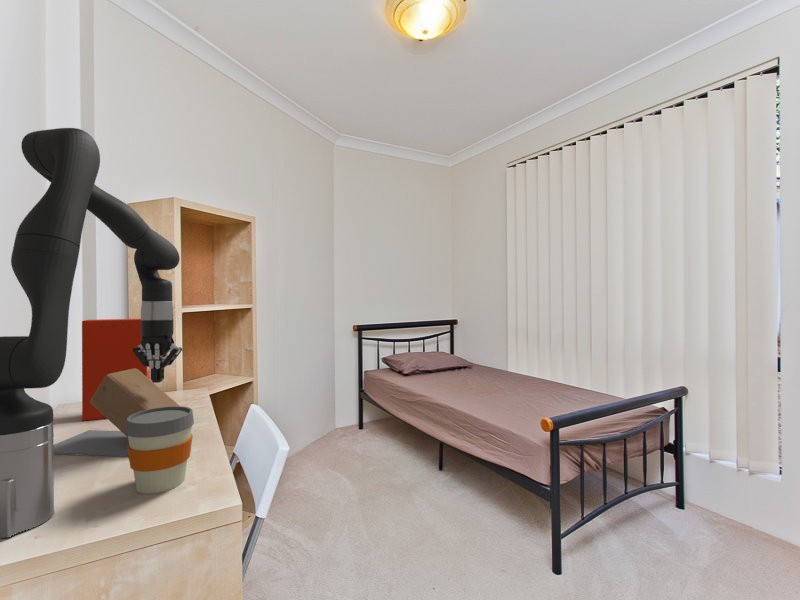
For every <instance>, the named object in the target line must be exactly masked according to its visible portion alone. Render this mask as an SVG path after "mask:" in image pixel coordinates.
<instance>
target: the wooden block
mask: <svg viewBox="0 0 800 600" xmlns="http://www.w3.org/2000/svg"><path fill="white" fill-rule="evenodd" d="M90 403H91V404H92V405H93V406H94V407H95V408H96V409H97V410H98V411H99V412H101V413H102V414H103V415H104V416H105V417H106V418H105V419H106V420H108V421H109V422H110V423H111V424H112V425H114V426H115V427H116V428H117V429H118V431H121V432H122V433H124V434H125V435H126V424H127V418H128V417H129V416H131V415H132V414H135V413H137V412H140V411H144V410H148V409H153V408H159V407H168V406H180V405H179V404H178V403H177V402H176V401H175V400H173V398H171V396H169V395H168V394H167V393H165V391H163V390H162V389H161V388H160V387H159V386H158V385H156V384H155V383H153V382H152V380H151V378H150V379H148V378H147V377H146V376H145V375H144V374H143V373H142V372H140V371H139V370H138V369H135V368H134V369H129V370H124V371H120V372H115V373H111V374H108V375H106V376H105V377H104V379H103V380H102V382H101V384H100V385H99V387H98V388H97V390H96V392H95V393H94V395H93V397H92V398H91V400H90ZM126 436H127V437H128V435H126Z"/></svg>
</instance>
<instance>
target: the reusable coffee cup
mask: <svg viewBox="0 0 800 600" xmlns="http://www.w3.org/2000/svg"><path fill="white" fill-rule="evenodd" d="M193 411H194V410H193V408H192V407H188V406H181V405H179V406H168V407H159V408H153V409H148V410H144V411H140V412H137V413H135V414H132V415H131V416H129V417H128V418H127V424H126V435H128V440H129V444H128V445H127V449H128V460H129V461H128V462H129V466H130V469H131V470H133V477H134V483H135V489H136V492H137V493H140V494H145V495H147V494H148V495H151V494H152V495H153V494H154V495H155V494H160V493H163V492H164V493H165V492H167V491H171V490H173V489H176V488H177V487H179V486H180V485H182V484H183V483H184V482H185V480H186V479H185V478H186V472H187V463H188V459H189V458H190V456H191V452H192V451H191V450H192V444H193V443H192V442H193V433H192V428H193V425H194V423H195V419H194V414H193V413H194V412H193Z"/></svg>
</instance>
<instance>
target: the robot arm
mask: <svg viewBox="0 0 800 600" xmlns="http://www.w3.org/2000/svg"><path fill="white" fill-rule="evenodd" d="M20 148H21V152H22V155H23V157H24V158H25V160H26V161H27V163H28V164H29V165H30V167H31V168H32V169H34V170H35V172H37V173H38V174H39V175H41V176H42V177H43V178H45V180H47V181H48V182H49V184H50V185H49V186H48V189H47V190H46V191H45V193H44V194H43V195H42V196H41V198H40V199H39V201H38V202H37V203H36V204H35V205H34V206H33V207H32V209H30V211H29V212H28V213H27V214H26V215H25V217H24V219H22V221H21V223H20V224H19V226H18V227H17V231H16V234H15V238H14V242H13V243H14V244H13V248H12V252H11V257H10V264H11V268H12V270H13V271H12V272H13V274H14V276H15V277H16V279H17V281H18V283H19V286H21V288H22V290H23V291H24V294H25V295H26V297H27V298H28V299H27V300H28V301H29V304H30V308H31V321H30V322H31V324H30V330H29V335H27V336H25V335H24V336H23V335H21V336H20V335H19V336H18V335H17V336H16V335H14V336H13V335H12V336H0V539H6V538H5V537H10V538H12V537H13V536H14V535H13V534H15V533H17V534H19V533H18V532H20V533H22V532H21V531H23V532H25V531H24V530H26V531H29V530H30V529H33V527H34V528H36V527H39V525H40V526H41V525H42V524H43V523H45V522H47V521H48V520H50V518H52V517H53V515H54V513H55V488H54V487H55V480H54V477H55V476H54V475H55V473H54V472H55V471H54V469H55V468H54V465H55V464H54V455H55V454H54V451H53V445H54V408H53V407H52V406H51V405H50V404H48V403H45V402H42V401H39V400H38V399H35V398H33V397H32V396H30V395H29V394H28V393H27V392H26V390H25V389H43V388H44V389H45V388H48V387H50V386H52V385H54V384H55V383H56V382H57V381H58V379H59V378H60V377H61V375H62V373H63V370H64V367H65V363H66V358H67V346H68V327H69V317H70V316H69V314H70V305H71V298H72V291H73V285H74V278H75V274H76V269H77V266H78V260H79V255H80V249H81V241H82V233H83V229H84V224H85V218H86V215H87V211H89V213H92V215H94V217H96V218H97V219H98V220H99V221H101V223H103V224H104V225H105V226H106V227H107V228H108V229H109V230H110V231H111V232H112V233H113V234H114V235H115V236H116V237H117V238H118V240H120V241H121V242H122V243H123V244H124V245H125V246H127V247H128V248H130V249H135V252H134V255H133V262H134V265H135V269H136V272H137V275H138V276H137V277H138V278H139V282H140V285H141V305H140V319H141V336H142V340H141V344H140V345H139V346H138V347H135V348H133V349H132V351H133V352H134V354H135V355H136V356H137V358H138V359H139V360H140V362H141V363H142V364H143V366H147V367H149V368H150V380H151V381H152V382H153V383H154V384H155V383H157V384H159V383H162V382H163V380H164V379H165V368H166V367H169V366H171V365H172V364H173V363H174V361H175V360H176V359H177V357H179V355H180V353H182V351H183V348H182V347H181V346H179V347H178V346H177V345H176V344H175V340H174V338H173V335H174V316H175V315H174V305H173V283H172V282H171V280H168V279H165V278H162V277H161V276H160V273H159V271H169V270H174V269H175V268H177V266H178V265H179V263H180V254H179V251H178V249H177V248H176V246H175V245H174V244H173V243H172V242H170V241H169V240H168V239H166V238H165V237H163V236H162V235H161V234H159V233H158V232H156V230H153V229H152V228H151V227H150V226H149V224H147V223H146V222H145V220H144V219H143V218H142V217H141V215H140V214H138V213H137V211H135V209H133V207H131V206H129V205H128V204H127V203H126V202H124V201H122V200H121V199H119V198H117V197H115V196H114V195H112V194H110V193H108V192H107V191H105V190H104V189H102V188H101V187H99V186H98V185H96V184H95V183H96V181H97V180H96V179H97V176H98V173H99V169H100V166H101V154H100V150H99V146H98V144H97V142H96V141H95V139H94V137H92V135H90V134H89V133H88V131H84V130H83V129H80V128H76V127H75V128H74V127H60V128H51V129H50V128H48V129H40V130H35V131H32V132H28V133H27V134H26V135H25V136H24V137H22V141H21V147H20ZM28 529H29V530H28ZM12 535H13V536H12ZM15 535H16V534H15ZM11 536H12V537H11Z"/></svg>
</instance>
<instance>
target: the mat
mask: <svg viewBox="0 0 800 600" xmlns="http://www.w3.org/2000/svg"><path fill="white" fill-rule="evenodd" d="M128 444H129V440H128V437H127V436H126V435H125V434H124V433H122V432H121V431H120V430H99V429H98V430H96V429H89V430H86V431H84V432H82V433H79V434H77V435H74V436H72V437H69V438H67V439H64V440H62V441H59V442H57V443H53V451H54V455H58V456H59V455H62V456H63V455H65V456H69V455H70V456H96V457H97V456H100V457H129V455H128V449H127V445H128Z"/></svg>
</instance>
